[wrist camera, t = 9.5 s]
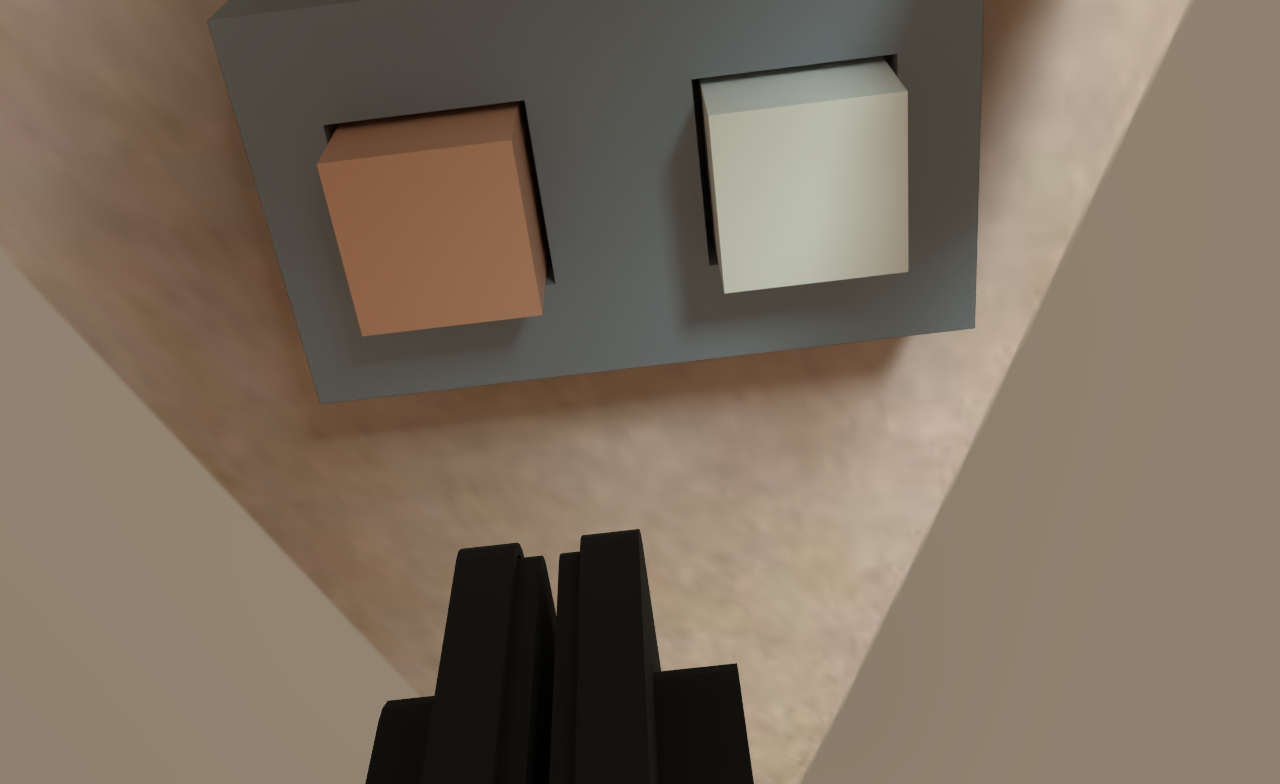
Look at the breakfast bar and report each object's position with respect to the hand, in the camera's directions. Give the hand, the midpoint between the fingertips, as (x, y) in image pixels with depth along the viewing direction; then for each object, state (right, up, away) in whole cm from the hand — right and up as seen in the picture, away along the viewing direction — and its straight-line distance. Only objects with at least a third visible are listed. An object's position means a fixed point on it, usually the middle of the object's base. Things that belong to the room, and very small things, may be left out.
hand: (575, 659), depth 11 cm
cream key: (+6, +11, +31) cm, 33 cm away
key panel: (0, +12, +34) cm, 36 cm away
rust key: (-6, +10, +32) cm, 33 cm away
